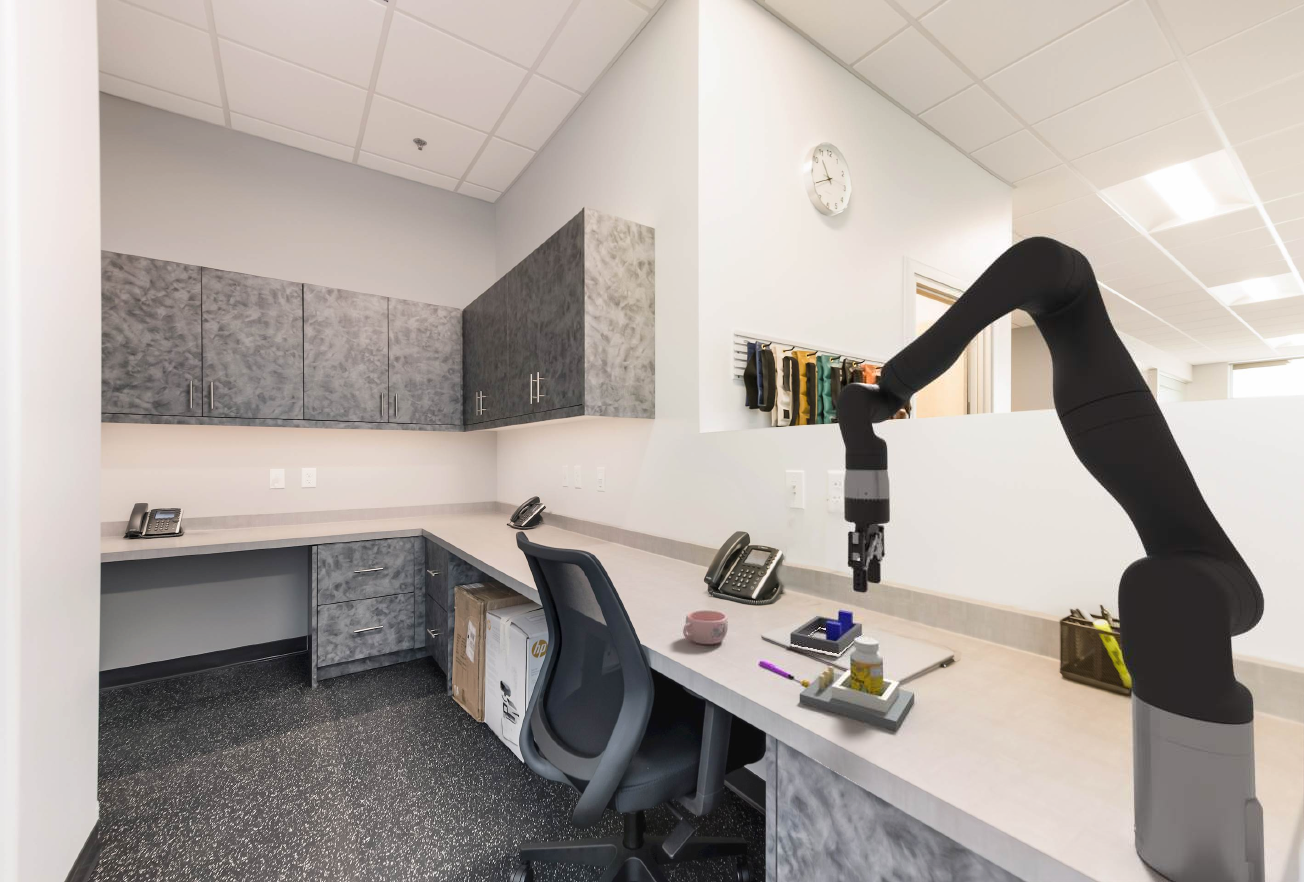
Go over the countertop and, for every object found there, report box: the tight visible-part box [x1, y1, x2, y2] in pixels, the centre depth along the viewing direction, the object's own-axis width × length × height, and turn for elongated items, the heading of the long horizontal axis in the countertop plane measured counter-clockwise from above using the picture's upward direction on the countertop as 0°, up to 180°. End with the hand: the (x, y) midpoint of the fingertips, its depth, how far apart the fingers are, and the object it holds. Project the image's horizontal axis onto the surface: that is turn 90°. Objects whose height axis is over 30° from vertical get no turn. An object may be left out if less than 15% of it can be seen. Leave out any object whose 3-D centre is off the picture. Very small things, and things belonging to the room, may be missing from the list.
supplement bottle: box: [849, 636, 884, 696], centre depth 94 cm, size 5×5×10 cm
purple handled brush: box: [758, 660, 811, 688], centre depth 106 cm, size 3×1×16 cm
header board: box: [799, 665, 915, 731], centre depth 95 cm, size 16×13×4 cm
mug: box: [682, 609, 729, 645], centre depth 126 cm, size 12×10×6 cm
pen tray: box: [789, 615, 863, 654], centre depth 126 cm, size 11×17×3 cm, turn 143°
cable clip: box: [825, 609, 854, 641], centre depth 126 cm, size 12×4×6 cm, turn 146°
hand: (867, 587), depth 95 cm, fingers open, 8 cm apart
